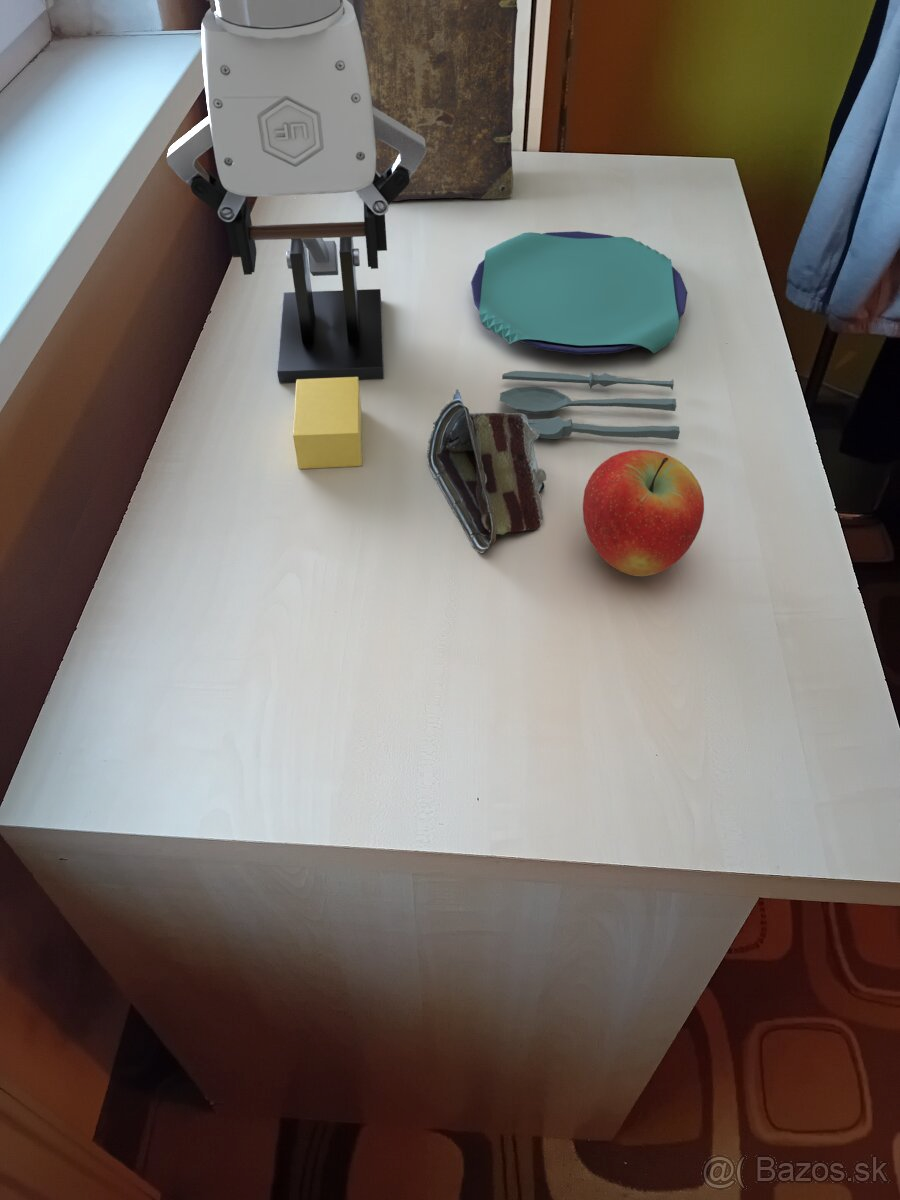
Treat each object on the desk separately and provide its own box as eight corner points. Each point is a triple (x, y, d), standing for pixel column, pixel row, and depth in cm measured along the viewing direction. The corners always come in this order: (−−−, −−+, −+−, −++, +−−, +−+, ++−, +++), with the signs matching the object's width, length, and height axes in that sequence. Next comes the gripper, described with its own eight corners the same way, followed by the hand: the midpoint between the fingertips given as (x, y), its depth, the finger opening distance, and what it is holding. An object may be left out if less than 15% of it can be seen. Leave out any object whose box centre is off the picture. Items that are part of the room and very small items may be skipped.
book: (355, 203, 102) (333, -73, 83) (359, 171, 107) (339, -98, 88) (512, 203, 102) (527, -74, 83) (510, 171, 107) (522, -99, 88)
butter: (298, 469, 76) (292, 435, 73) (301, 412, 80) (296, 378, 78) (362, 466, 76) (358, 432, 73) (361, 409, 81) (358, 376, 78)
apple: (626, 501, 74) (646, 395, 66) (711, 559, 70) (743, 454, 62) (552, 554, 70) (565, 449, 62) (638, 618, 66) (662, 514, 59)
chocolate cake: (574, 546, 71) (566, 381, 70) (491, 552, 68) (481, 380, 67) (509, 548, 80) (500, 401, 79) (432, 554, 76) (422, 401, 76)
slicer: (383, 378, 83) (377, 276, 76) (279, 383, 83) (261, 281, 75) (381, 300, 91) (374, 200, 83) (285, 303, 91) (270, 203, 83)
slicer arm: (366, 246, 67) (364, 209, 67) (250, 250, 67) (247, 213, 66) (372, 273, 83) (370, 244, 82) (278, 277, 82) (276, 247, 82)
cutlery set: (676, 253, 96) (680, 231, 94) (701, 453, 77) (707, 431, 75) (477, 244, 97) (478, 222, 95) (453, 440, 78) (453, 417, 76)
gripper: (113, 17, 53) (184, 297, 66) (430, 5, 53) (436, 285, 67) (132, -32, 58) (194, 239, 71) (423, -42, 58) (430, 228, 72)
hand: (311, 260), depth 69 cm, fingers closed on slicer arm, 8 cm apart
